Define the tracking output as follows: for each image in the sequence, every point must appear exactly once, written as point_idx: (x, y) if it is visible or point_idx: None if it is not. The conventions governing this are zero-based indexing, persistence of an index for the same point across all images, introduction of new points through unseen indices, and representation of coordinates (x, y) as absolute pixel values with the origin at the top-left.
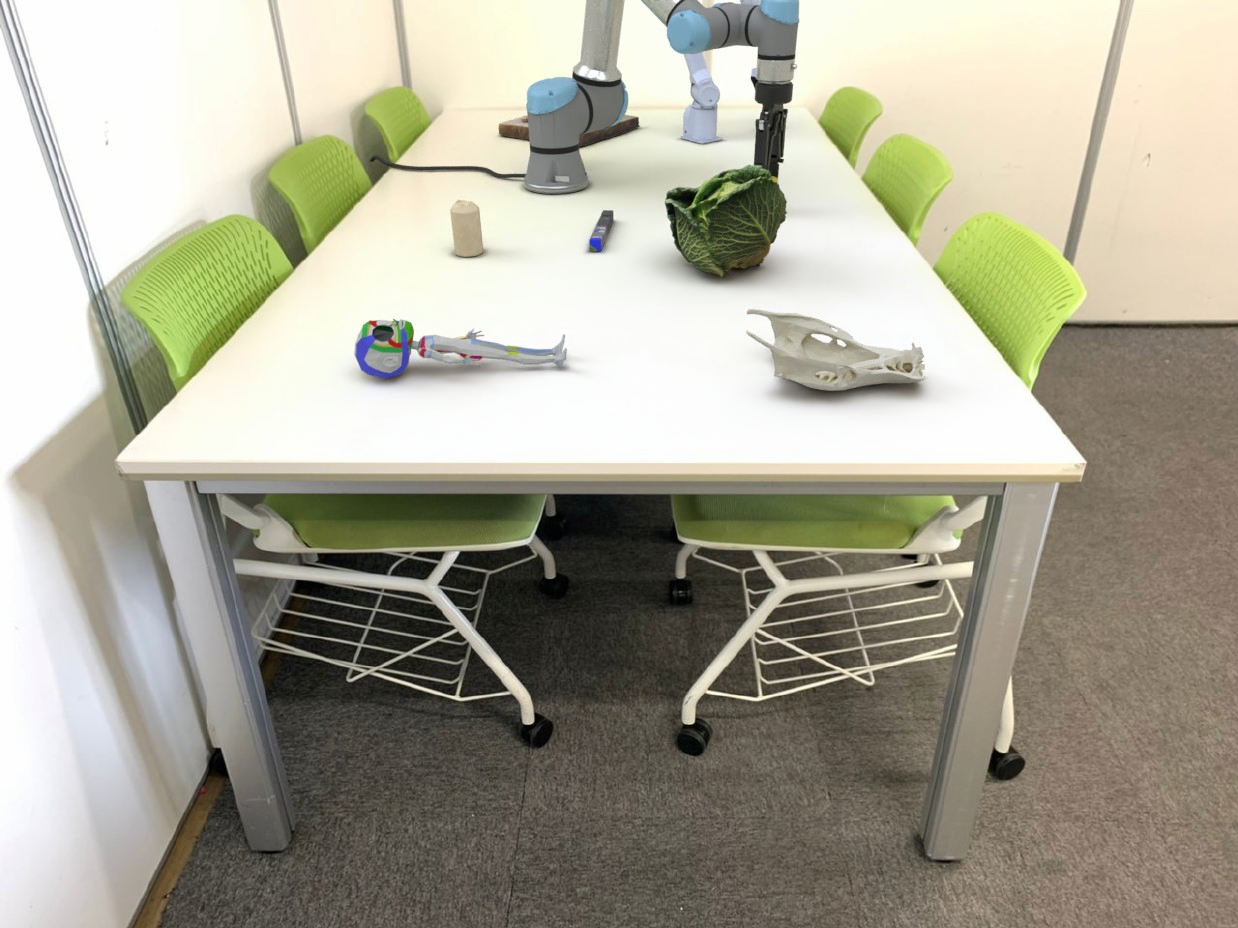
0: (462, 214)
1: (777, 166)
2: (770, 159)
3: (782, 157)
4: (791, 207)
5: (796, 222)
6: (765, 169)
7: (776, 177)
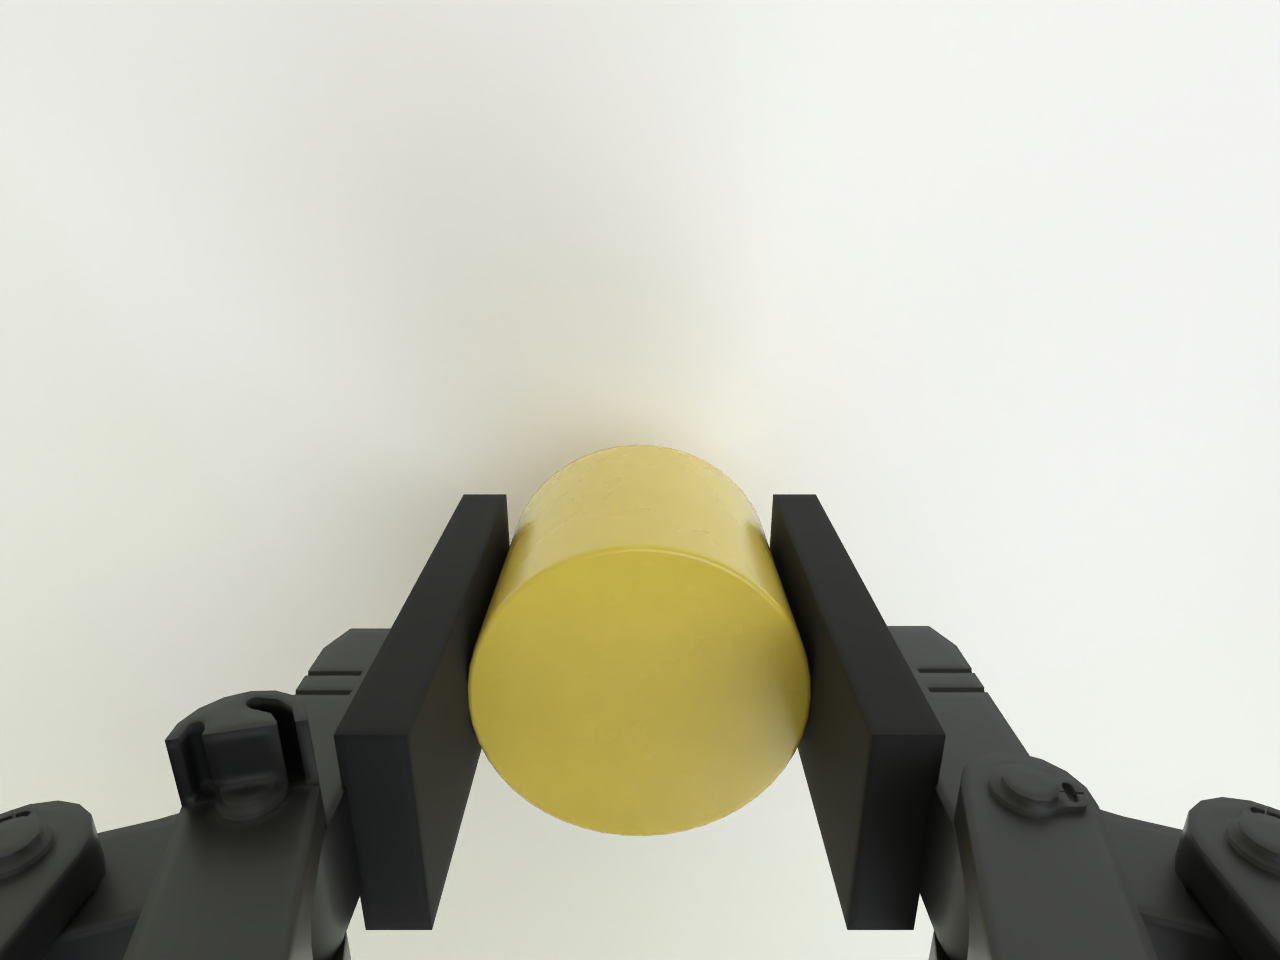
0: None
1: (412, 720)
2: (340, 943)
3: (46, 805)
4: (322, 319)
5: (821, 86)
6: (1224, 802)
7: (510, 604)
